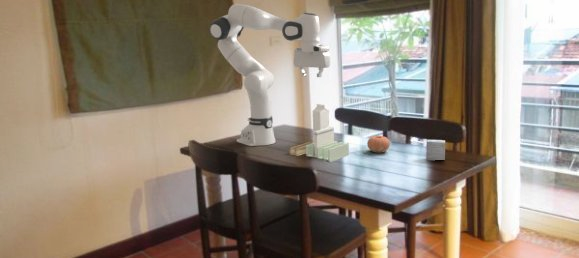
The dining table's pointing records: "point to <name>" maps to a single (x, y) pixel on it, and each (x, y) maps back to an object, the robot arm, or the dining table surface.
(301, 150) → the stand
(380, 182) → the dining table surface
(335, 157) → the rack
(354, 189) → the dining table surface
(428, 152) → the medicine box
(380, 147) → the orange rounded piece
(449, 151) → the dining table surface
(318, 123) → the milk
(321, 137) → the plate
